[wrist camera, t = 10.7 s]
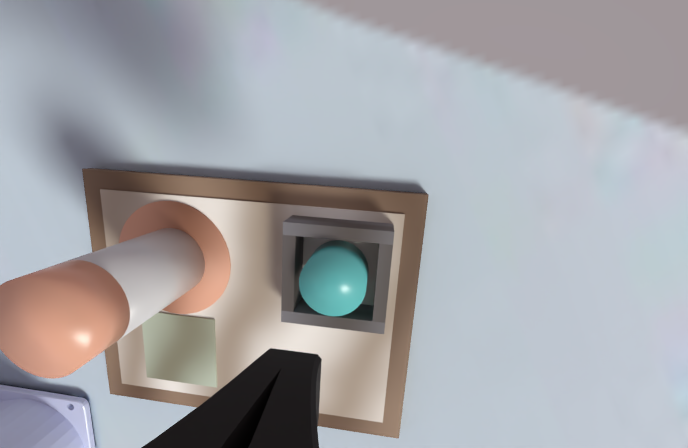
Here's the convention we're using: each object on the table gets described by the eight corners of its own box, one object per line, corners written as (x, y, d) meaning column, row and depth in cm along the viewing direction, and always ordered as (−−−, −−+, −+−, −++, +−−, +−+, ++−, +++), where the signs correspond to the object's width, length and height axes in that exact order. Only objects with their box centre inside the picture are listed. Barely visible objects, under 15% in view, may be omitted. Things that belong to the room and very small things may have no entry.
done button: (307, 293, 17) (298, 312, 15) (310, 237, 16) (300, 249, 14) (366, 299, 16) (363, 319, 14) (370, 243, 16) (368, 256, 14)
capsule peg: (146, 289, 18) (1, 373, 11) (138, 226, 17) (-24, 275, 10) (207, 293, 17) (95, 383, 11) (201, 229, 17) (76, 281, 10)
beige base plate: (117, 386, 21) (85, 415, 18) (92, 168, 18) (49, 170, 15) (398, 429, 19) (400, 466, 17) (426, 193, 16) (433, 200, 13)
